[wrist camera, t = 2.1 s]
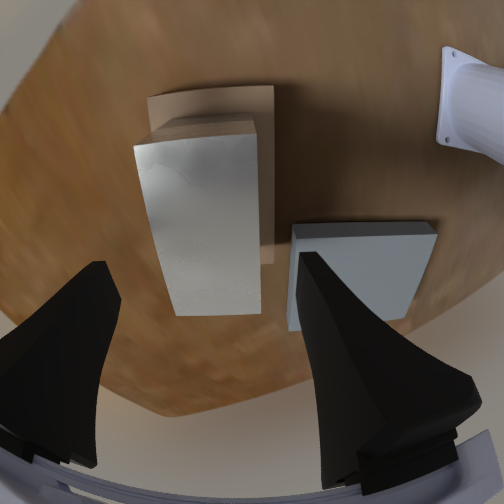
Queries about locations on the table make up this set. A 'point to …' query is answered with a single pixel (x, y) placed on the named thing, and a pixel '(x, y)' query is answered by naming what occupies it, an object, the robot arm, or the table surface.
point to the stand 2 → (366, 261)
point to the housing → (205, 211)
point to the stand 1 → (262, 109)
